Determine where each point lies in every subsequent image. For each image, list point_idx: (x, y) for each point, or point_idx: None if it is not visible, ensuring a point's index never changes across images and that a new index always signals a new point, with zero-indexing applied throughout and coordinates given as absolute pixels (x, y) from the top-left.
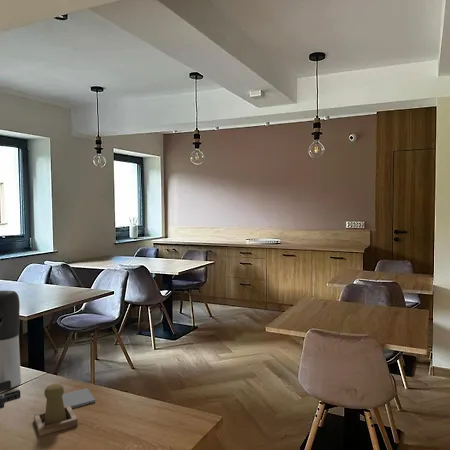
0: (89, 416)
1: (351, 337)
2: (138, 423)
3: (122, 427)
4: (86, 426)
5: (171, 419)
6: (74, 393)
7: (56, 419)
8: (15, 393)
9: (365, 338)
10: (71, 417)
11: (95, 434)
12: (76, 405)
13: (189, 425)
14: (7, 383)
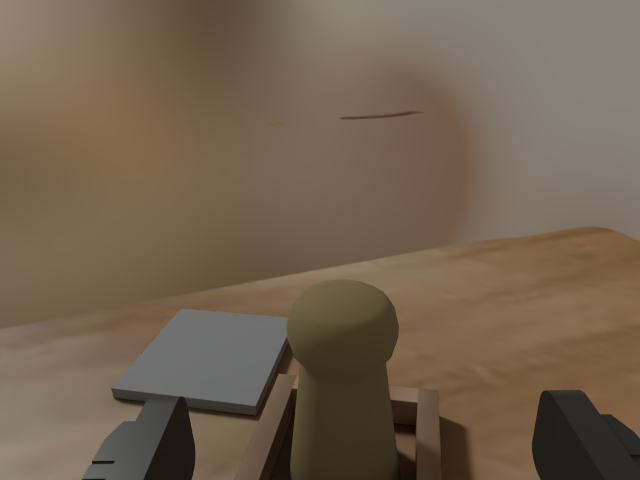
0: (389, 367)
1: (401, 114)
2: (536, 302)
3: (542, 331)
4: (467, 396)
5: (552, 261)
6: (174, 341)
7: (395, 448)
8: (630, 442)
9: (417, 112)
10: (405, 401)
11: None
12: (274, 365)
13: (605, 252)
14: (177, 438)
